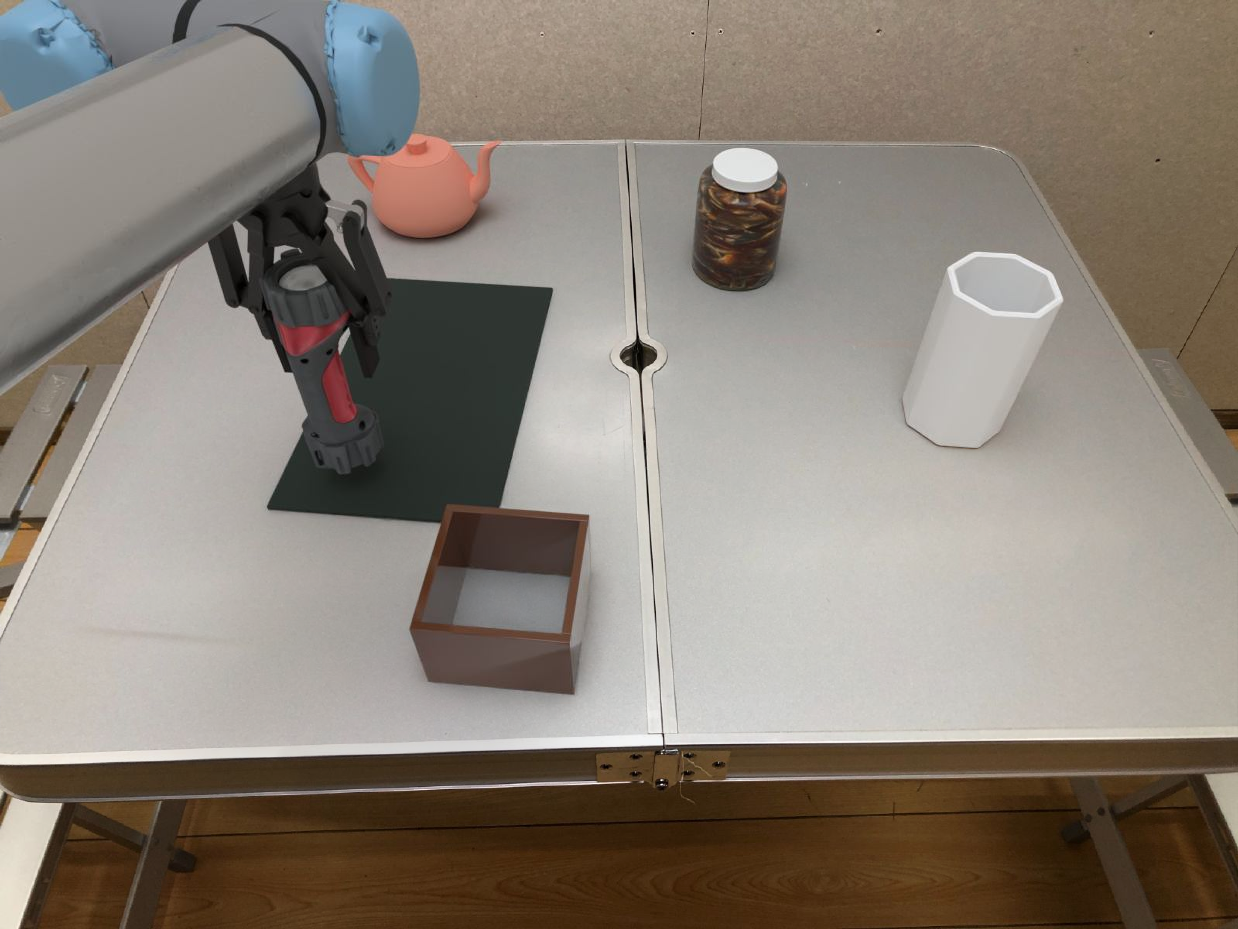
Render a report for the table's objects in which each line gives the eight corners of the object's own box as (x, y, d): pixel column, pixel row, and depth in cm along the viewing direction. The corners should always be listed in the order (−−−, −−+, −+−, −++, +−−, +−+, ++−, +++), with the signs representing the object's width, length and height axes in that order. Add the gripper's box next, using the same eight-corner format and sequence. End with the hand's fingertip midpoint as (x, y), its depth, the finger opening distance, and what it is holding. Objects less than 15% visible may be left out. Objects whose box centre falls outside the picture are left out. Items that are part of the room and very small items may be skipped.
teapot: (515, 192, 129) (507, 113, 119) (502, 248, 119) (492, 167, 109) (374, 188, 129) (355, 110, 120) (348, 244, 119) (326, 163, 110)
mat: (267, 509, 87) (266, 506, 87) (378, 280, 114) (377, 277, 113) (494, 527, 86) (494, 524, 85) (553, 290, 112) (552, 287, 112)
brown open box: (427, 682, 74) (408, 629, 67) (460, 560, 83) (446, 503, 76) (574, 695, 73) (569, 643, 67) (592, 571, 82) (589, 514, 75)
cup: (914, 370, 101) (961, 238, 88) (1009, 401, 98) (1073, 268, 84) (888, 429, 95) (934, 295, 81) (988, 463, 91) (1054, 331, 77)
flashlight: (413, 436, 90) (364, 253, 72) (372, 488, 85) (309, 304, 68) (351, 417, 92) (289, 234, 74) (308, 466, 87) (232, 283, 70)
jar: (793, 264, 116) (811, 163, 105) (740, 302, 110) (754, 199, 99) (726, 231, 121) (737, 132, 110) (673, 266, 116) (679, 164, 104)
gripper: (398, 114, 64) (445, 346, 81) (148, 103, 65) (246, 333, 82) (369, 164, 59) (425, 400, 76) (99, 150, 60) (215, 385, 77)
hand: (332, 365), depth 79 cm, fingers closed on flashlight, 7 cm apart
